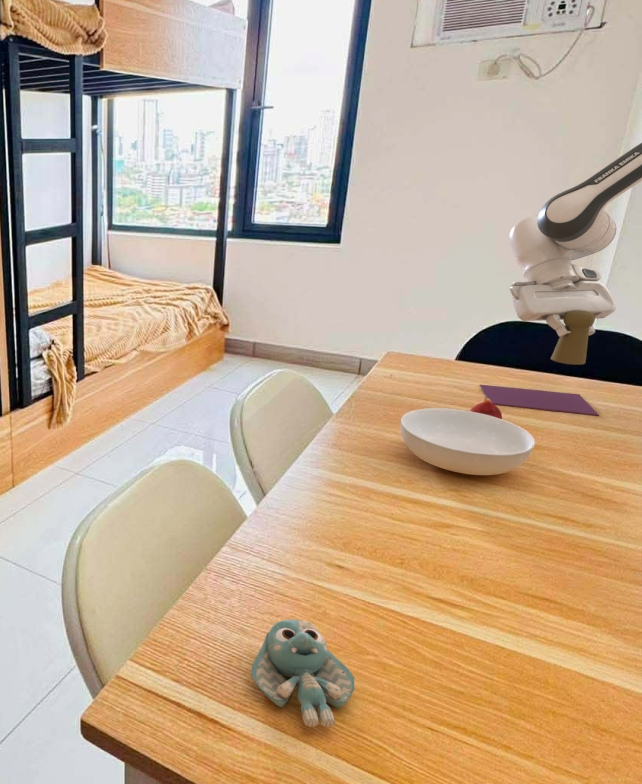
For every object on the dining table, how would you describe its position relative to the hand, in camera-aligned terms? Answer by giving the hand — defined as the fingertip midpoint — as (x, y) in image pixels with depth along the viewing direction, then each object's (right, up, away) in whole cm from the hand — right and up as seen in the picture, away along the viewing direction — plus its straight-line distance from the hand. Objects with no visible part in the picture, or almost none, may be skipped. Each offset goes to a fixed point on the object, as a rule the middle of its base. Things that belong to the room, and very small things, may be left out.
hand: (577, 334), depth 134 cm
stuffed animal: (-86, -44, -67) cm, 117 cm away
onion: (-25, -21, -6) cm, 33 cm away
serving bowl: (-37, -26, -17) cm, 48 cm away
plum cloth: (0, -14, +12) cm, 19 cm away
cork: (0, -6, +3) cm, 6 cm away
